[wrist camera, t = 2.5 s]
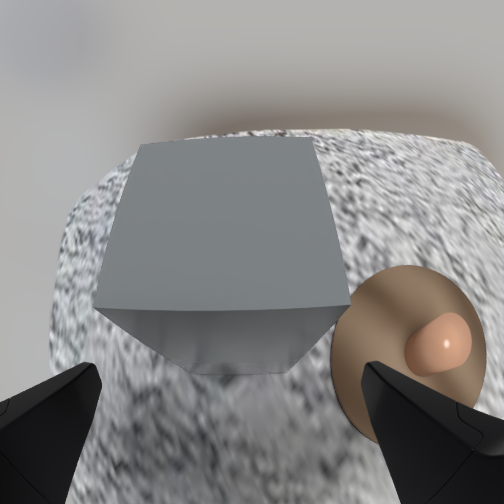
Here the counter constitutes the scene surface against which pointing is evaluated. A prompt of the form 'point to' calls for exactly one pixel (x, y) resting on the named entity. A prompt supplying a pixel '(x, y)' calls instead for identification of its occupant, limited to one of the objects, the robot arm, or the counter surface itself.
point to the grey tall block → (225, 254)
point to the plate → (401, 336)
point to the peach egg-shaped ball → (438, 345)
